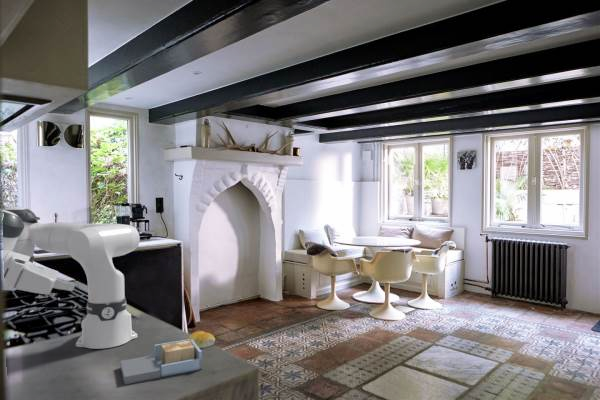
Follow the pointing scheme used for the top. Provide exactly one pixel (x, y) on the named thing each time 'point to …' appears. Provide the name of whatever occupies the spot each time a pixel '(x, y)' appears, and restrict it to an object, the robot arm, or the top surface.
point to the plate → (139, 369)
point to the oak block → (177, 352)
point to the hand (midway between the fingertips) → (74, 287)
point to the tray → (178, 366)
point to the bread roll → (202, 339)
